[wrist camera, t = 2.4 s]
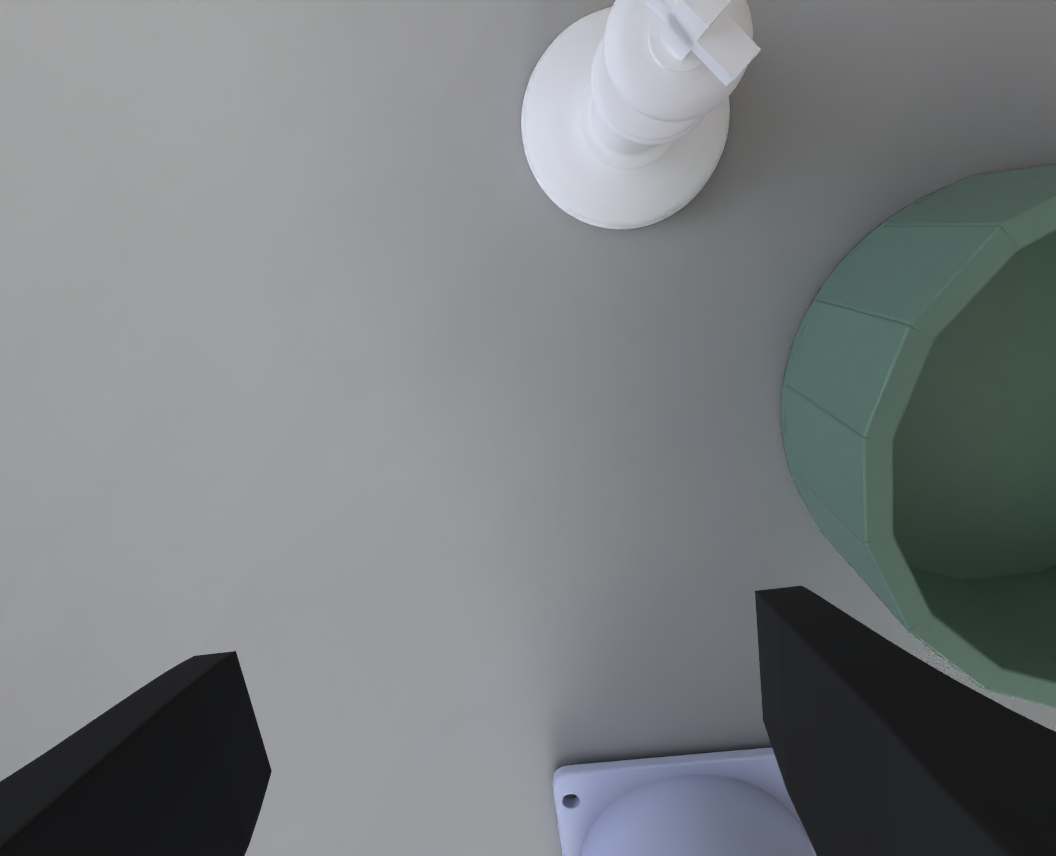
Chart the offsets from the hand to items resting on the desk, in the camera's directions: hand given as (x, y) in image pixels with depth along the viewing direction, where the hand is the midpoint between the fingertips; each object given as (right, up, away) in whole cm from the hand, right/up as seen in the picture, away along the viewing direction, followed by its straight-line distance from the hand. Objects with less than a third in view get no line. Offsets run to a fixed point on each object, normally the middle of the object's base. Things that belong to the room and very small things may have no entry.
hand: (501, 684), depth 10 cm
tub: (+13, +4, +9) cm, 16 cm away
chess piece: (+3, +11, +8) cm, 14 cm away
